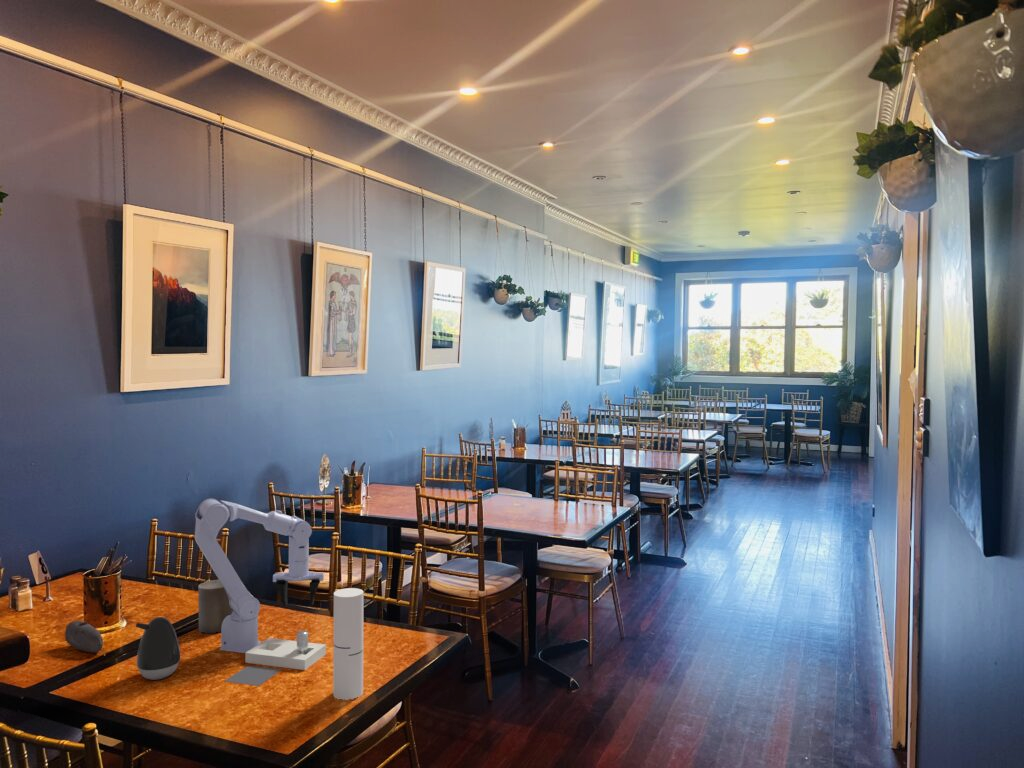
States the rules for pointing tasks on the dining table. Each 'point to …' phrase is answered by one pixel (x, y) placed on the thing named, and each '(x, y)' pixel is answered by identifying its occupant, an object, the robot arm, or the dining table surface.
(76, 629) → the grey river pebble
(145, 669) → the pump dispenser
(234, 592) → the robot arm
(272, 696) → the dining table surface
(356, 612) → the cylindrical container
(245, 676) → the mat
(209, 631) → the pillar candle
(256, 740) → the dining table surface
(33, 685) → the dining table surface
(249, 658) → the hole block
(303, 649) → the peg
